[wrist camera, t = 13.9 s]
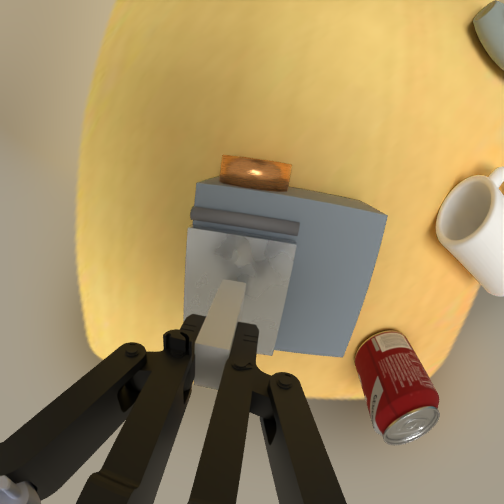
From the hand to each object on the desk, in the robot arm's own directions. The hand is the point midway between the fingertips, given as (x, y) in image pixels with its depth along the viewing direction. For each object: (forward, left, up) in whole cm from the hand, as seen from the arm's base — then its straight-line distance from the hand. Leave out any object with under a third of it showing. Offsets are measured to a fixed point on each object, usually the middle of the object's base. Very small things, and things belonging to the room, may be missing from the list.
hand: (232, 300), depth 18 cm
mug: (-9, +24, -10) cm, 27 cm away
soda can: (+9, +17, -9) cm, 21 cm away
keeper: (+1, 0, -2) cm, 2 cm away
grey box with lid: (-1, +3, -9) cm, 10 cm away
